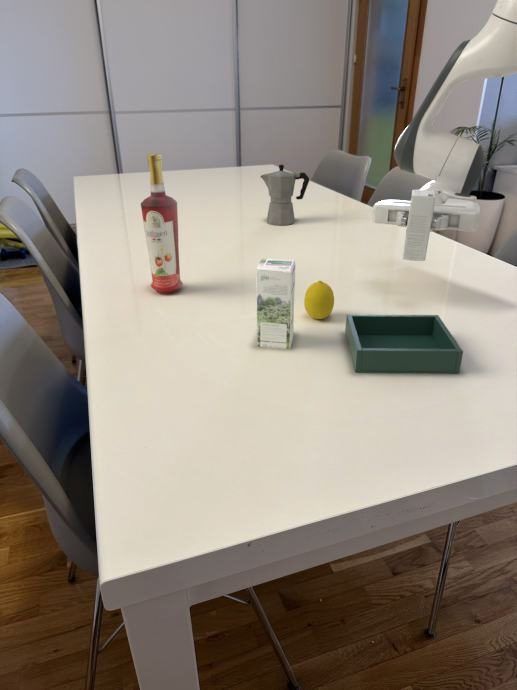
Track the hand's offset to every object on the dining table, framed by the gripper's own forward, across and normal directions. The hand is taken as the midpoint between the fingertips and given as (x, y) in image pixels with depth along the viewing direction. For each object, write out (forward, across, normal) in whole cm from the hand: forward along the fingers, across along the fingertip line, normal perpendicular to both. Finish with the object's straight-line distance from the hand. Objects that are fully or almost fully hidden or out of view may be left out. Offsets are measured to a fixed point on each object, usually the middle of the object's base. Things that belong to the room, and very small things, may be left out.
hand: (418, 223), depth 95 cm
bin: (+22, +2, +17) cm, 28 cm away
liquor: (+12, -50, +17) cm, 54 cm away
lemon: (+14, -14, +17) cm, 26 cm away
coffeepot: (-57, -51, +17) cm, 78 cm away
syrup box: (+26, -18, +17) cm, 36 cm away
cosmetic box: (-1, 0, +7) cm, 7 cm away
